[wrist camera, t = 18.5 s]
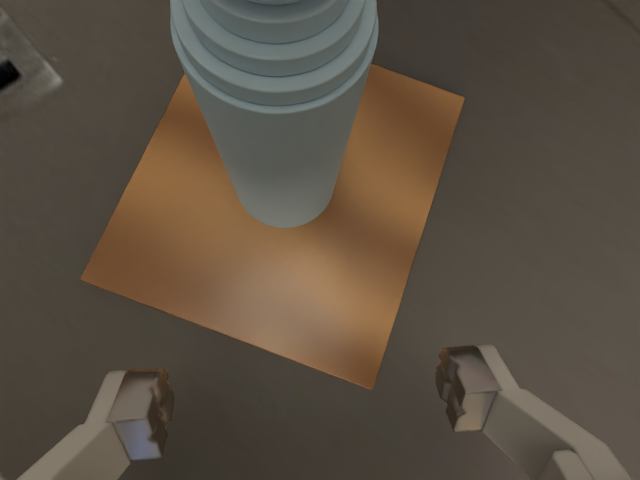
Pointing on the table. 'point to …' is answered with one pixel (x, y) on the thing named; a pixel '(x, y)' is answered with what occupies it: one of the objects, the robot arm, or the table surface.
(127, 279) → the mat
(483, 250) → the table surface
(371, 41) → the bottle
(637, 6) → the table surface
